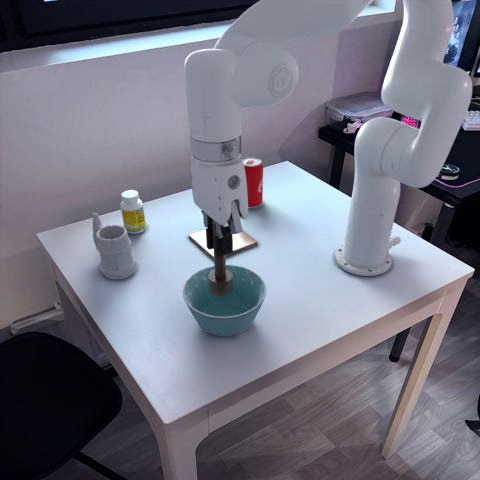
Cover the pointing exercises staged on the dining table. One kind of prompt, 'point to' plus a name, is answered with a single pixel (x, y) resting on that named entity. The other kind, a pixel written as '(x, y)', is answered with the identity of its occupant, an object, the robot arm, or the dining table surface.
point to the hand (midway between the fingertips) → (219, 249)
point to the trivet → (239, 242)
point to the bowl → (225, 301)
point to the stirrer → (219, 273)
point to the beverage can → (254, 181)
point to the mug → (113, 249)
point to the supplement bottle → (132, 212)
